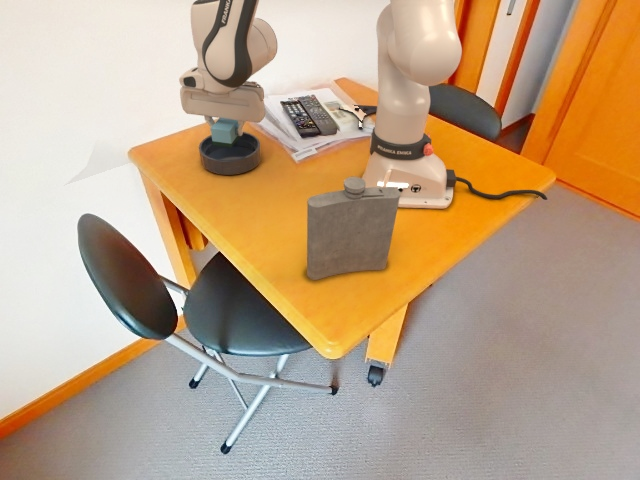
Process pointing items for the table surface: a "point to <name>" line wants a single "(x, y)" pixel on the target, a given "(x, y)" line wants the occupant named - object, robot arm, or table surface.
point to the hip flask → (350, 229)
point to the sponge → (224, 132)
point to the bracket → (366, 110)
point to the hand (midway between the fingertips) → (227, 133)
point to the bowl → (231, 155)
